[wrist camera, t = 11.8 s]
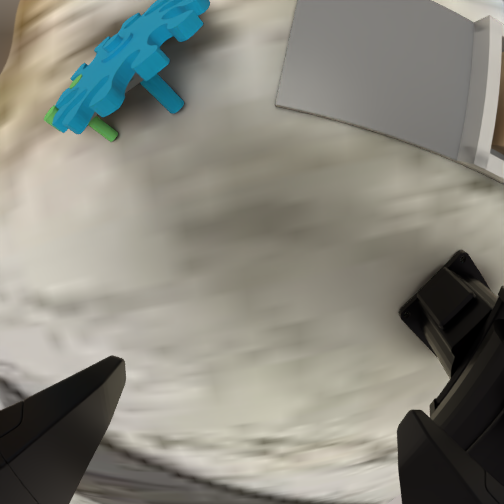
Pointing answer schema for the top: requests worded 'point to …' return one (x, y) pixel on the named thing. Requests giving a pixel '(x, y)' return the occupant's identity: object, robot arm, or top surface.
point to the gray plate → (399, 74)
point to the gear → (127, 67)
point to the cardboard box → (499, 115)
